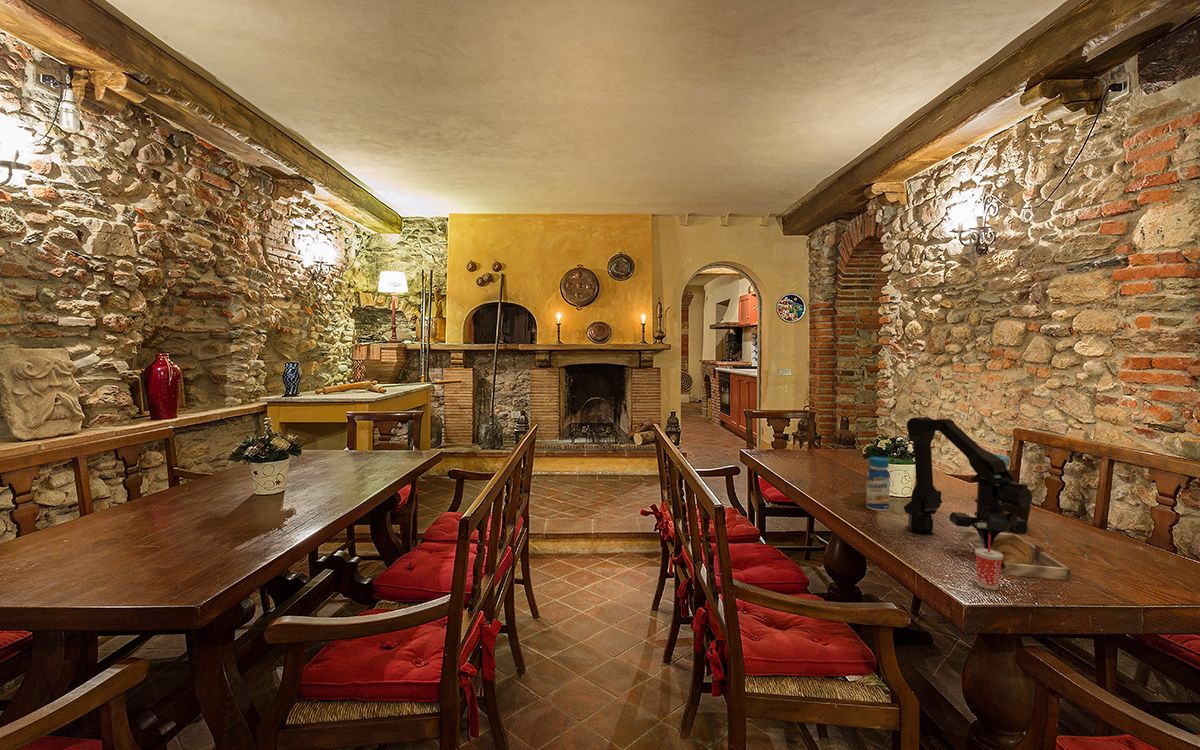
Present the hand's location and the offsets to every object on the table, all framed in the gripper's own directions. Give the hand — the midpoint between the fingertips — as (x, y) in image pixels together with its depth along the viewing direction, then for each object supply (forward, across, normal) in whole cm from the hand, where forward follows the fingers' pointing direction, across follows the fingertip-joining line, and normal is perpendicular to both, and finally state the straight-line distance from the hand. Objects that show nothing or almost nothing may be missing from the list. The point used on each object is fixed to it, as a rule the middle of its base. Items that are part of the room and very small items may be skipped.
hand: (986, 549), depth 160 cm
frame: (+2, +7, 0) cm, 7 cm away
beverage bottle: (+2, -20, +44) cm, 48 cm away
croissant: (+2, +6, -1) cm, 6 cm away
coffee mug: (+2, +20, +29) cm, 35 cm away
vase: (+2, +27, +61) cm, 67 cm away
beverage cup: (+2, -9, -23) cm, 25 cm away
